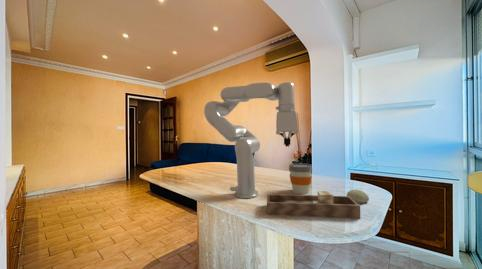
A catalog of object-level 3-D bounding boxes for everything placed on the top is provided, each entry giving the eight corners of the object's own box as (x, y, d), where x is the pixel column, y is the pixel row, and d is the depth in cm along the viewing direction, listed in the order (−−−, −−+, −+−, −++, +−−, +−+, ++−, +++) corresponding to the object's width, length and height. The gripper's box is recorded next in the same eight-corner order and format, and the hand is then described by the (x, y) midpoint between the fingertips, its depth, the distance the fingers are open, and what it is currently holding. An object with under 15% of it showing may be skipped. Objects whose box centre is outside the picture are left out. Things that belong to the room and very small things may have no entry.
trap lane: (267, 214, 83) (266, 202, 83) (267, 204, 93) (267, 194, 93) (360, 218, 77) (360, 205, 77) (349, 207, 88) (349, 196, 87)
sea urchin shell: (359, 201, 89) (349, 186, 94) (349, 209, 95) (340, 194, 100) (375, 199, 92) (364, 184, 97) (364, 206, 97) (354, 192, 103)
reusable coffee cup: (291, 195, 106) (291, 167, 106) (287, 188, 118) (287, 163, 118) (315, 195, 105) (315, 167, 105) (309, 188, 118) (308, 163, 117)
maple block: (320, 206, 82) (320, 194, 82) (317, 202, 87) (317, 190, 87) (333, 207, 81) (333, 194, 81) (329, 202, 86) (329, 191, 86)
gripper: (270, 108, 94) (271, 147, 94) (303, 107, 91) (304, 146, 92) (271, 110, 101) (271, 145, 102) (301, 108, 99) (302, 145, 99)
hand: (287, 146), depth 97 cm, fingers closed
